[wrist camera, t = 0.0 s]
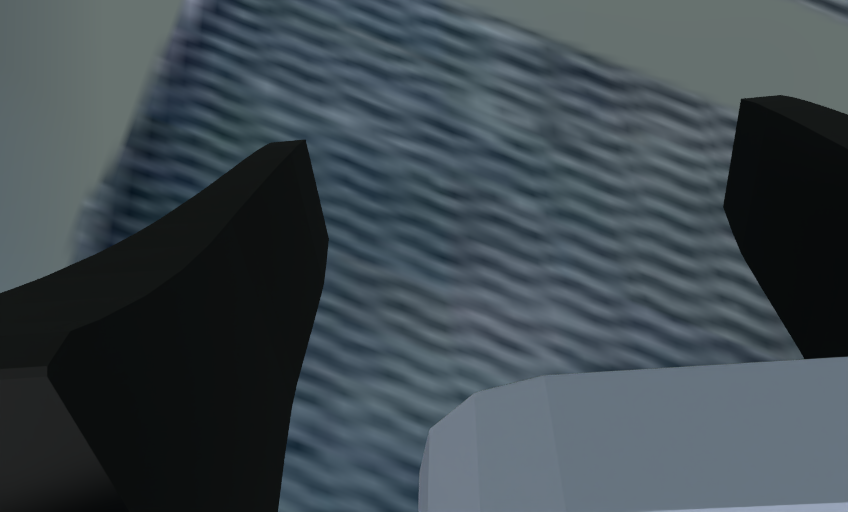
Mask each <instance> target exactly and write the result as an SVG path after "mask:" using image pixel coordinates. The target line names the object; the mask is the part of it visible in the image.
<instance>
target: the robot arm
mask: <svg viewBox="0 0 848 512" xmlns="http://www.w3.org/2000/svg"><path fill="white" fill-rule="evenodd" d="M723 208H724V210H725V213H726V216H727V219H728V221H729V224H730V227H731V230H732V232H733V235H734V237H735V240H736V242H737V244H738V247H739V249H740V252H741V254H742V255H743V257H744V259H745V261H746V263H747V264H748V266H749V268H750V269H751V271H752V273H753V274H754V276H755V278H756V279H757V281H758V283H759V284H760V286H761V288H762V289H763V291H764V293H765V294H766V296H767V298H768V299H769V301H770V303H771V304H772V306H773V307H774V309H775V311H776V312H777V314H778V316H779V317H780V319H781V321H782V322H783V324H784V325H785V327H786V329H787V330H788V332H789V334H790V335H791V337H792V339H793V340H794V342H795V344H796V345H797V347H798V348H799V350H800V352H801V354H802V355H803V357H804V359H801V360H785V361H769V362H752V363H736V364H720V365H704V366H688V367H671V368H655V369H639V370H623V371H606V372H590V373H574V374H558V375H542V376H538V377H534V378H530V379H526V380H522V381H518V382H514V383H510V384H506V385H502V386H498V387H494V388H491V389H487V390H483V391H479V392H476V393H474V394H473V395H472V396H470V397H469V398H468V399H467V400H465V401H464V402H463V403H462V404H460V405H459V406H458V407H457V408H455V409H454V410H453V411H452V412H451V413H449V414H448V415H447V416H446V417H444V418H443V419H442V420H441V421H439V422H438V423H437V424H436V425H434V426H433V427H432V428H431V429H430V430H429V434H428V438H427V442H426V447H425V451H424V455H423V459H422V464H421V468H420V475H419V503H418V512H848V115H847V114H844V113H841V112H839V111H836V110H833V109H830V108H827V107H824V106H821V105H818V104H815V103H812V102H808V101H805V100H801V99H797V98H793V97H788V96H783V95H777V96H766V97H756V98H747V99H746V98H745V99H741V103H740V109H739V115H738V121H737V127H736V133H735V139H734V145H733V151H732V157H731V163H730V169H729V175H728V181H727V187H726V193H725V199H724V205H723ZM328 241H329V238H328V234H327V229H326V225H325V221H324V216H323V212H322V208H321V204H320V199H319V195H318V191H317V187H316V182H315V178H314V174H313V169H312V165H311V161H310V157H309V152H308V148H307V144H306V140H295V141H285V142H274V143H269V144H267V145H265V146H264V147H262V148H260V149H259V150H257V151H256V152H254V153H253V154H251V155H250V156H249V157H247V158H246V159H244V160H243V161H242V162H240V163H239V164H238V165H236V166H235V167H234V168H232V169H231V170H230V171H228V172H227V173H225V174H224V175H223V176H221V177H220V178H219V179H217V180H216V181H215V182H213V183H212V184H211V185H209V186H208V187H207V188H205V189H204V190H202V191H201V192H200V193H198V194H197V195H195V196H194V197H192V198H191V199H189V200H188V201H186V202H185V203H183V204H182V205H180V206H179V207H177V208H176V209H174V210H173V211H171V212H170V213H168V214H167V215H165V216H164V217H162V218H161V219H159V220H158V221H156V222H154V223H153V224H151V225H149V226H148V227H146V228H144V229H142V230H141V231H139V232H137V233H136V234H134V235H132V236H130V237H128V238H126V239H124V240H122V241H121V242H119V243H117V244H115V245H113V246H111V247H109V248H107V249H105V250H103V251H101V252H99V253H97V254H95V255H93V256H90V257H88V258H86V259H84V260H81V261H79V262H77V263H75V264H72V265H70V266H68V267H66V268H63V269H61V270H59V271H57V272H54V273H52V274H50V275H48V276H45V277H43V278H40V279H38V280H35V281H32V282H30V283H27V284H24V285H22V286H19V287H16V288H14V289H11V290H8V291H5V292H2V293H0V512H278V506H279V498H280V490H281V482H282V474H283V466H284V458H285V451H286V444H287V437H288V430H289V423H290V417H291V410H292V404H293V400H294V395H295V391H296V386H297V382H298V378H299V375H300V371H301V367H302V364H303V360H304V356H305V353H306V349H307V345H308V342H309V338H310V334H311V331H312V327H313V324H314V320H315V316H316V312H317V309H318V305H319V301H320V297H321V293H322V289H323V285H324V278H325V270H326V262H327V251H328Z"/></svg>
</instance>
